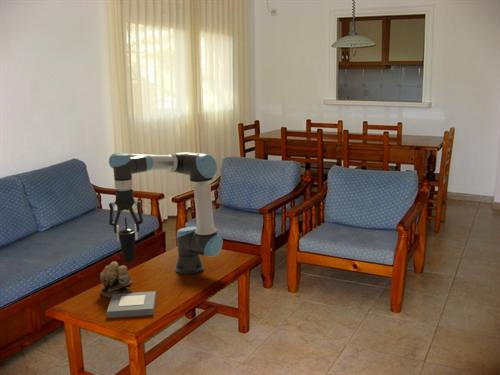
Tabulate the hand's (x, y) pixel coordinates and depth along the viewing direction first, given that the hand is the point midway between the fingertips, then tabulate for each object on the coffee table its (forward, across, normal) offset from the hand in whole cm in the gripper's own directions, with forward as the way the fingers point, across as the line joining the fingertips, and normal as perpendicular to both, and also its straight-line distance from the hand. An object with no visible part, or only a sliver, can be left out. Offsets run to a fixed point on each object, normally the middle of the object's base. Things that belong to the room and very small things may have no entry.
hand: (127, 239), depth 245 cm
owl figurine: (+33, -9, +17) cm, 38 cm away
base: (+32, 0, 0) cm, 32 cm away
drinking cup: (+10, 0, 0) cm, 10 cm away
